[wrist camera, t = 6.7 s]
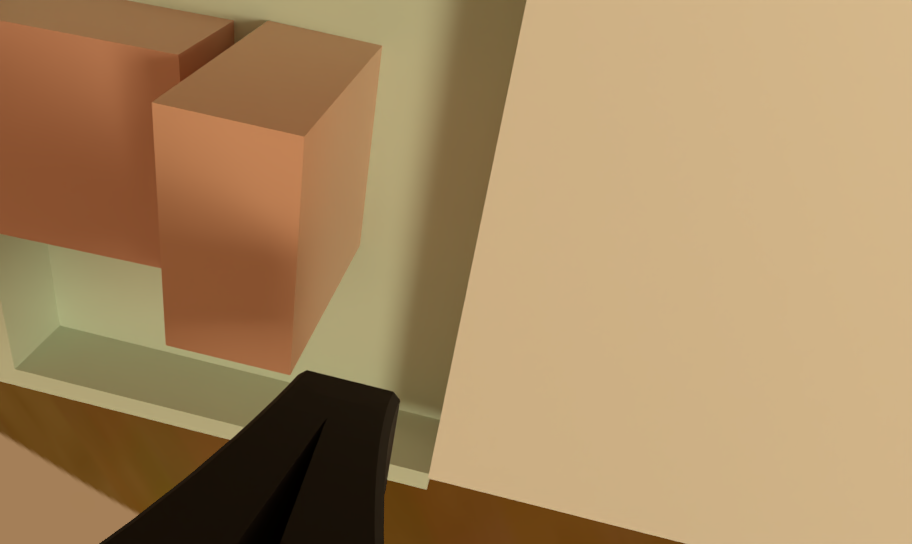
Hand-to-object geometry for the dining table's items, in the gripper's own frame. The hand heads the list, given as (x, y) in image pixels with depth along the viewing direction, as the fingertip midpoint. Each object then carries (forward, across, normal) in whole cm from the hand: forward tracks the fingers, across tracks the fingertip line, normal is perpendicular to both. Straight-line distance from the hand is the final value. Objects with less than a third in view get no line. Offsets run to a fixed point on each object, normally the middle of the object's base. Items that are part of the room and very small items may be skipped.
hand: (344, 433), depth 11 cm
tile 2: (+6, +8, 0) cm, 10 cm away
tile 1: (+6, +2, 0) cm, 6 cm away
